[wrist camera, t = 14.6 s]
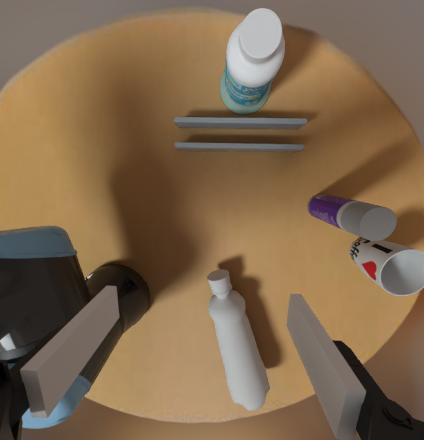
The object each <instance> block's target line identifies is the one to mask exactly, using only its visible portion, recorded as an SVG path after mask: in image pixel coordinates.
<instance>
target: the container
mask: <svg viewBox="0 0 424 440" xmlns="http://www.w3.org/2000/svg"><path fill="white" fill-rule="evenodd" d="M308 211H309V213H310V214H311V215H312V216H314V217H316V218H318V219H320V220H323V221H325V222H327V223H329V224H332V225H334V226H336V227H338V228H340V229H343V230H345V231H348V232H350V233H353V234H355V235H357V236H360V237H362V238H365V239H367V240H370V241H380V240H383V239H385V238H387V237H388V236H390V235H391V234H392V232H393V231H394V229H395V227H396V224H397V219H396V215H395V214H394V212H393V211H392V210H390V209H389V208H386V207H382V206H377V205H373V204H369V203H364V202H360V201H355V200H350V199H345V198H340V197H334V196H329V195H324V194H318V195H315V196H314V197H312V198H311V199H310V201H309V202H308Z"/></svg>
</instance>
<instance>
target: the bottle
mask: <svg viewBox="0 0 424 440" xmlns="http://www.w3.org/2000/svg"><path fill="white" fill-rule="evenodd" d="M207 279H208V282H209V284H210V286H211V289H212V290H211V292H212V294H214V295H213V296H212V298H211V299H210V303H209V310H208V312H209V314H210V316H211V317H212V319H213V321H214V322H215V331H216V335H217V340H218V344H219V348H220V352H221V356H222V360H223V364H224V368H225V372H226V380H227V384H228V387H229V390H230V393H231V396H232V398H233V400H234V402H235V403H238V404H241V405H243V406H244V407H245V408H246V409H248V410H250V411H251V410H257V409H259V408H260V407H262V406H263V405H264V403H265V398H266V394H267V392H268V391H269V389H270V386H269V382H268V378H267V374H266V370H265V366H264V363H263V361H262V360H261V357H260V354H259V351H258V348H257V344H256V341H255V338H254V335H253V332H252V329H251V326H250V322H249V319H248V317H247V315H246V313H245V310H246V307H245V299H244V298H243V297H242V296H241V295H240V294H239V293H238V292H237V291H235V290H231V289H232V285H231V284H230V277H229V271H227V270H224V269H221V270H216V271H214V272H212V273H210V274H209V275H208V276H207Z"/></svg>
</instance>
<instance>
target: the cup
mask: <svg viewBox="0 0 424 440" xmlns="http://www.w3.org/2000/svg"><path fill="white" fill-rule="evenodd" d="M349 254H350V256H351V258H352V259H353V261H354V262H355V264H356V265H357V266H358V267H359V268H360V269H361V270H362V271H363V272H364V273H365V274H366V275H367V276H368V277H369V278H370V279H371V280H373V281H374V282H375V283H376V284H378V285H379V286H380V287H381V288H383V289H384V290H385V291H386V292H388V293H390V294H392V295H395V296H407V295H411V294H414V293H416V292H418V291H420V290H421V289H423V288H424V252H422V251H419V250H416V249H413V248H410V247H407V246H404V245H400V244H397V243H394V242H389V241H384V240H380V241H370V240H367V239H365V238H362V239H358V240H356V241H355V242H353V243H352V245H351V246H350V249H349Z"/></svg>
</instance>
